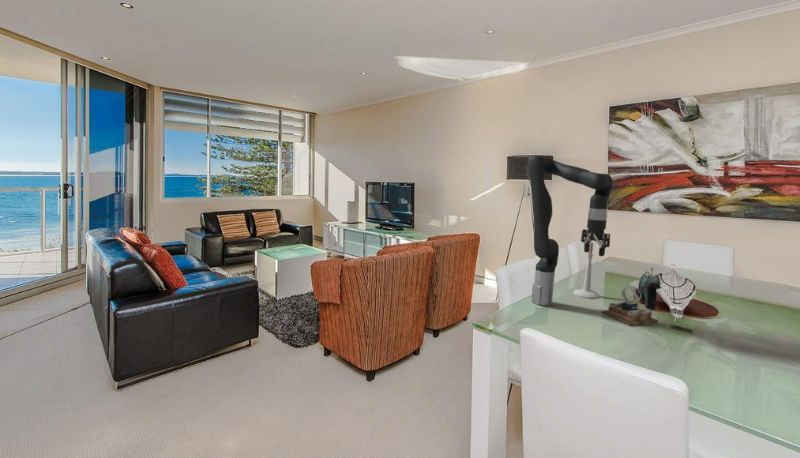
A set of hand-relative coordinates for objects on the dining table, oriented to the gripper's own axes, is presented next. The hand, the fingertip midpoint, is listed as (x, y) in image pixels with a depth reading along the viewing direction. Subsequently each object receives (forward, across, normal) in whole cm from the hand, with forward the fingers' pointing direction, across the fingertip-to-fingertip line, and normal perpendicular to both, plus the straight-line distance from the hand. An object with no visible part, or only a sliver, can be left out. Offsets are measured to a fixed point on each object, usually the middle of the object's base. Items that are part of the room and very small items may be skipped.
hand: (593, 254), depth 171 cm
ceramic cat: (+30, +8, -44) cm, 54 cm away
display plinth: (+30, -5, -19) cm, 36 cm away
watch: (+26, -5, -19) cm, 33 cm away
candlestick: (+30, +28, -25) cm, 48 cm away
